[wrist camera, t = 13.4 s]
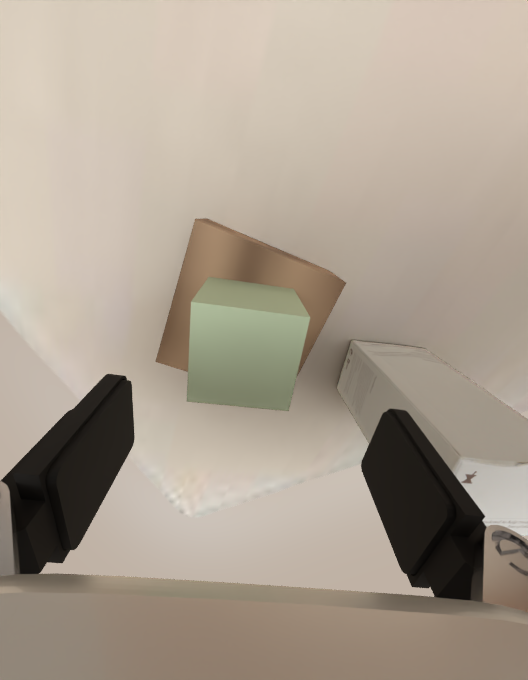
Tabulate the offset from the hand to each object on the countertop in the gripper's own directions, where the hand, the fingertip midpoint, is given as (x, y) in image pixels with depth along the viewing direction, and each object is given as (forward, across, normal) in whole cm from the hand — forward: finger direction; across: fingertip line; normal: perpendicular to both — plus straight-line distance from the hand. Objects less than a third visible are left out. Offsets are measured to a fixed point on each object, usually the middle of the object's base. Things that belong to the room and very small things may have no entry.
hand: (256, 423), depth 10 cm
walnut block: (+16, +1, +1) cm, 16 cm away
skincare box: (+16, -14, +5) cm, 22 cm away
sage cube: (+11, +1, 0) cm, 11 cm away
